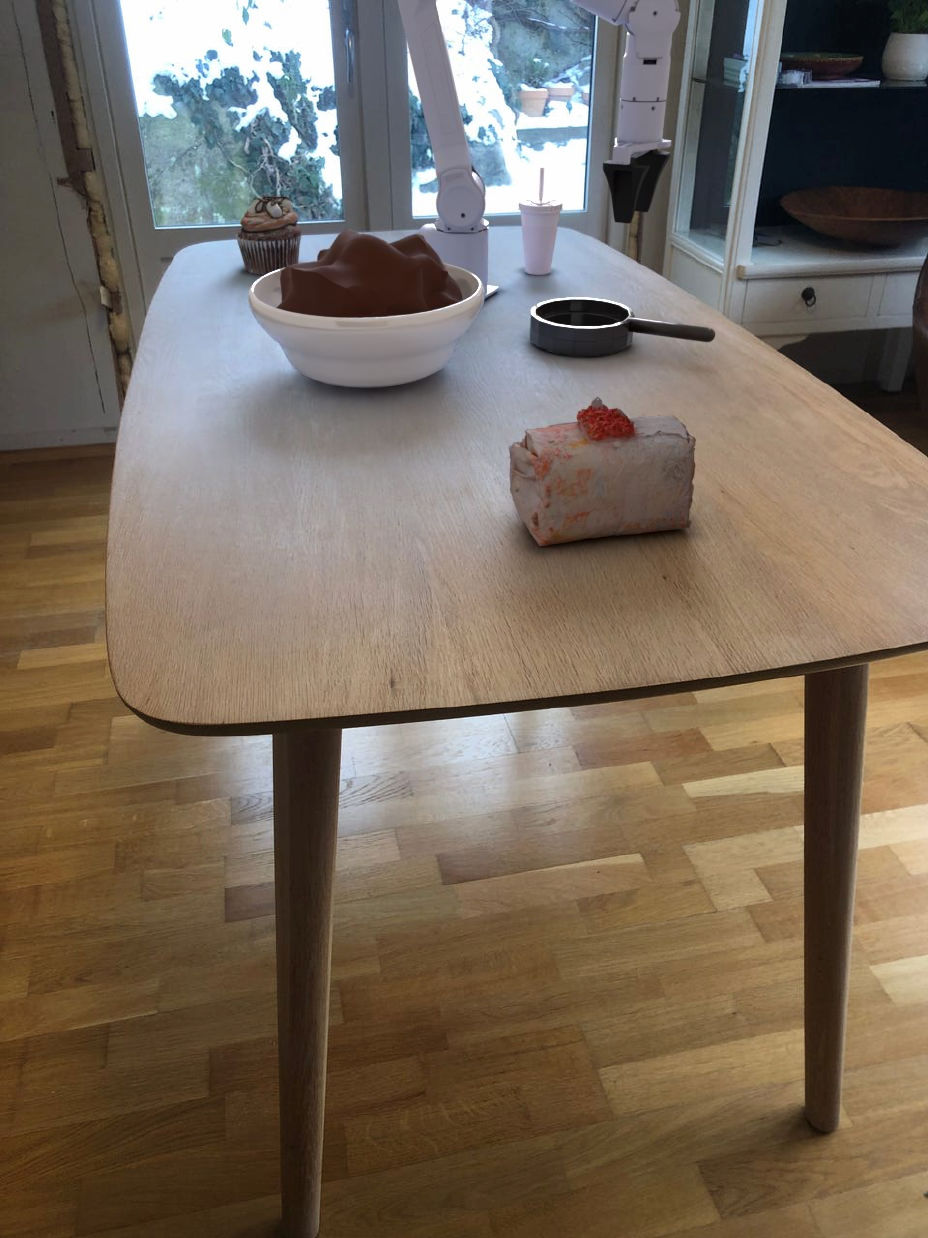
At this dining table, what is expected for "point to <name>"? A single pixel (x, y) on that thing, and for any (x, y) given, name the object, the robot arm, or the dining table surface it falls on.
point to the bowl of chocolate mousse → (368, 311)
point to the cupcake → (269, 235)
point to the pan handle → (671, 330)
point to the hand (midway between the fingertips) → (631, 216)
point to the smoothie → (539, 230)
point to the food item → (603, 476)
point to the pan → (581, 326)
